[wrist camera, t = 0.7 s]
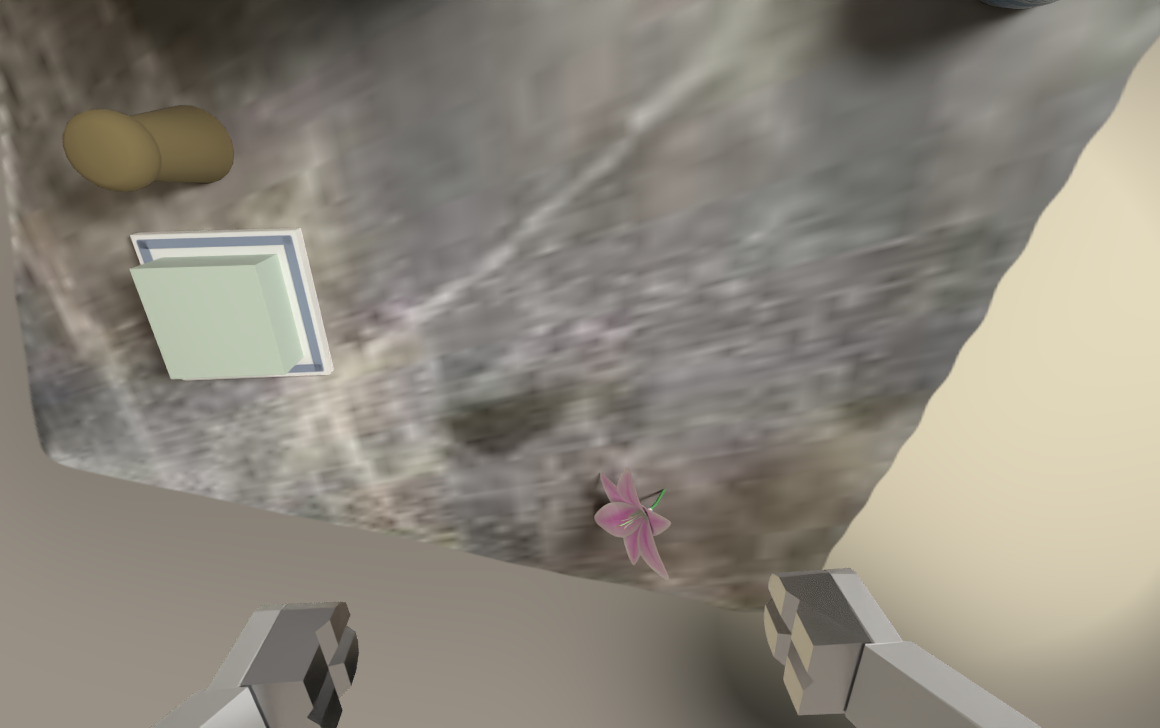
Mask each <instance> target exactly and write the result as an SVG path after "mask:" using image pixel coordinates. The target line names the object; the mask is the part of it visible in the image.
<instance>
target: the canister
mask: <svg viewBox="0 0 1160 728" xmlns="http://www.w3.org/2000/svg"><path fill="white" fill-rule="evenodd" d="M980 1H982V2H983V3H986V4H988V5H991V6H994V7H1000V8H1011V9H1027V8H1033V7H1037V6H1043V5H1047V4H1050V3H1053V2H1056V1H1058V0H980Z"/></svg>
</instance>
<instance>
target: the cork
mask: <svg viewBox="0 0 1160 728" xmlns="http://www.w3.org/2000/svg"><path fill="white" fill-rule="evenodd" d="M63 148H64V151H65V154H66V156H67V158H68V160H69V161H70V163H71V164H72V166H73V167H74V169H76V170H77V171H78V172H79V173H80V174H81V175H82V176H83V177H84V178H86V179H87V180H89V181H91V182H92V183H94V184H96V185H97V186H99V187H102V188H106V189H109V190H113V191H134V190H138V189H141V188H144V187H146V186H148V185H149V184H150V183H152V182H153V181H173V182H197V183H212V182H215V181H218V180H221V179H222V178H223V177H224V176H225V175H227V174H228V173H229V171H230V169H231V167H232V165H233V158H234V150H233V145H232V141H231V138H230V137H229V135H228V133H227V131H226V129H225V128H224V126H223V125H222V124H221V123H220V122H219V121H218V120H217V119H216V118H215V117H214V116H212V115H211V114H209V113H208V112H206V111H205V110H203V109H200V108H197V107H194V106H184V105H179V106H174V107H170V108H165V109H160V110H155V111H150V112H146V113H141V114H136V115H131V116H127V115H125V114H122V113H119V112H116V111H113V110H101V109H90V110H88V111H85V112H82V113H79V114H77V115H75V116H74V117H73V118H72V119H71V120H70V121H69V122H68V123H67V125H66V127H65V130H64V133H63Z"/></svg>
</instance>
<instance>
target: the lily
mask: <svg viewBox="0 0 1160 728" xmlns="http://www.w3.org/2000/svg"><path fill="white" fill-rule="evenodd" d="M600 477H601V481H602V484H603V487H604V489H605V492H606V494H607V496H608V498H609V500H610V501H611V503H608V504H606V505H604V506H603V507H602V508H601V509H600V510H599V511H598V512H597V513H596V514H595V516H594V518H595V521H596V523H597V524H598V525H599V526H600V527H602V528H603V529H604V530H605V531H607V532H608V533H610V534H612V535H614V536H617V537H623V539H624V544H625V547H626V551H627V553H628V556H629V559H630V561H631V563H632V564H633V565H635V564H636V562H637V561H638V559H639V557H640V554H641V556H642V558H643V559H644V561H645V562H646V563H647V564H648V565H649V566H650V567H651V568H652V569H653V570H654V571H655V572H656V573H657V574H659V575H660V576H661V577H663V578H664V579H666V580H669V577H668V574H667V572H666V570H665V567H664V565H663V563H662V561H661V558H660V556H659V554H658V551H657V548H656V545H655V542H654V538H653V536H656V535H658V534H660V533H662V532H663V531H665V530H666V529H667V528H668V527H669V526H670V524H671V522H670V521H669V520H667V519H666V518H664V517H662V516H660V515H659V514H657V513H655V512H653V511H651V510H652V509H653V508H654V507H655V506H656V505H657V504H658V502H659V501H660V499H661V497H662V495H663V493H664V492H665V489H663V490H662V492H661V494H660V496H659V497H658V499H657V501H656V502H655V503H654V504H653V505H652V506H651V507H650V508H649V509H647V508H646V507H644V506H643V505H641V504H640V501H639V498H638V496H637V492H636V489H635V485H634V481H633V478H632V475H631V472H630V470H629V468H625V470H624V471H623V472H622V474H621V476H620V478H619V481H618V484H617V487H616V486H615V485H614V484H613V483H612V482H611V481H610V480H609V479H608V478H607V477H605V476H604V475H603V474H602V473H600ZM649 522H650V524H649Z"/></svg>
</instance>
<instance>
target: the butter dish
mask: <svg viewBox="0 0 1160 728" xmlns="http://www.w3.org/2000/svg"><path fill="white" fill-rule="evenodd" d="M130 237H131V239H132V242H133V245H134V248H135V250H136V253H137V256H138V258H139V261H140V264H141V265H139V266H136V267H134V268H131V269H130V272H131V275H132V277H133V280H134V283H135V285H136V288H137V290H138V293H139V296H140V298H141V301H142V304H143V306H144V309H145V312H146V314H147V317H148V320H149V322H150V325H151V328H152V330H153V333H154V336H155V338H156V341H157V344H158V346H159V349H160V351H161V354H162V357H163V359H164V362H165V365H166V367H167V370H168V373H169V375H170V378H171V379H183V380H205V379H231V378H256V377H282V376H307V375H330V373H331V372H332V371H333V370H334V368H333V364H332V359H331V355H330V351H329V346H328V342H327V338H326V334H325V329H324V325H323V321H322V316H321V312H320V308H319V304H318V299H317V295H316V291H315V287H314V282H313V278H312V274H311V269H310V265H309V261H308V257H307V252H306V248H305V244H304V240H303V235H302V231H301V228H276V229H242V230H208V231H174V232H140V233H136V234H132V235H130Z"/></svg>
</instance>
